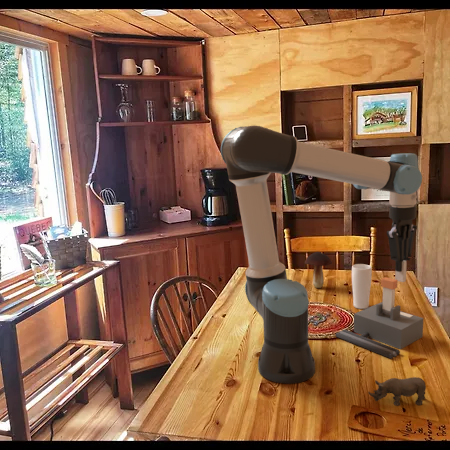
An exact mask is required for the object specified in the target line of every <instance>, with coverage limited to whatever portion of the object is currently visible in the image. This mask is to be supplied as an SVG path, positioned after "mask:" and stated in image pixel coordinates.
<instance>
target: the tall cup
mask: <svg viewBox="0 0 450 450" xmlns="http://www.w3.org/2000/svg"><path fill="white" fill-rule="evenodd" d="M372 274H373V273H372V266H371V265H370V264H369V265H368V264H364V263H355V264H353V265H352V266H351V287H352V300H353V302H352V306H353V307H354V308H356V309H359V310H364V309H366V308H369V307H370V295H371V294H370V293H371V286H372V278H373V277H372Z"/></svg>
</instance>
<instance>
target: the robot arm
mask: <svg viewBox="0 0 450 450" xmlns="http://www.w3.org/2000/svg"><path fill="white" fill-rule="evenodd" d="M220 145H221V146H220V155H221V158H222V160H223V162H224V164H225V165H226V170H227V175H228V180H229V182H231V183H233V184H234V185H235V190H236V194H237V201H238V208H239V214H240V218H241V224H242V230H243V236H244V241H245V247H246V253H247V259H248V265H249V266H248V267H247V268H246V270H245V278H246V279H245V280H246V282H245V287H244V290H245V291H244V292H245V296H246V298H247V299H246V300H247V301H248V303H249V304H250V305H251V306H252V307H253V308H254V309H255V310H256V312H257V313H258V314H259V315H260V317H261V318H262V320H263V344H262V346H261V351H260V355H259V357H258V361H257V369H258V372H259V374H260V375H261V376H262V377H264V378H265V379H266V380H268V381H271V382H274V383H279V384H289V385H290V384H298V383H299V384H300V383H302V382H305V381H307V380H309V379H311V378H312V377H313V376H314V375H315V373H316V361H315V358H314V356H313V353H312V349H311V346H310V344H309V303H310V302H309V301H310V300H309V296H308V291H307V287H305V285H303V284H302V283H301V282H299V281H296V280H292V279H290V278H288V277H287V271H286V266H285V264H283V263H282V262H281V261H280V260H279V252H278V246H277V239H276V233H275V229H274V220H273V214H272V208H271V202H270V196H269V190H268V189H269V188H268V184H267V183H268V182H267V180H268V178H269V176H270V175H271V174H273V173H274V174H280V175H284V176H285V175H289V174H290V173H295V174H300V175H306V176H310V177H311V176H312V177H314V178H315V177H316V178H321V179H324V180H326V179H327V180H331V181H337V182H341V183H346V184H349V185H350V184H351V185H353V187H354V188H356V189H357V190H367V189H368V190H369V189H371V190H379V191H384V192H389V205H390V206H389V211H388V212H389V213H388V218H390V219H391V220H392V223H391V229H390V230H387V231H386V236H387V239H388V246H389V253H390V260H393V261H395V267H394V269H395V270H394V271H395V273H394V274H395V278H394V279H395V280H397V282H400V283H405V282H406V281H407V261H411V257H412V254H413V253H412V252H413V247H414V242H415V237H416V236H415V234H416V231H417V227H418V226H417V225H414V224H413V220H415V219H416V218H417V207H416V205H417V198H418V195H417V191H418V190H419V189H420V188H421V185H422V180H423V175H422V172H421V170H420V169H419V160H418V155H417V154H416V153H413V152H412V153H411V152H408V153H405V152H404V153H391V155H390V159H389V160H388V161H386V160H382V159H377V158H373V157H369V156H364V155H362V154H361V155H360V154H356V153H351V152H347V151H342V150H338V149H335V148H328V147H325V146H320V145H315V144H311V143H306V142H302V141H298V139H297V137H296V136H294V135H291V134H290V135H289V134H285V133H283V132H279V131H275V130H273V129H270V128H267V127H264V126H260V125H247V126H238V127H235V128H234V129H233V128H232V130H230V131H229V132H228V133H227V134H226V135H225V136H224V138H222V141H221V144H220Z"/></svg>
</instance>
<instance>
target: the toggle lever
mask: <svg viewBox="0 0 450 450" xmlns="http://www.w3.org/2000/svg"><path fill="white" fill-rule="evenodd" d="M380 287H382V302H383V306H382V313H384V314H387V315H390V312H391V308H393V307H395V300H396V299H395V296H396V295H395V294H396V293H395V292H396V289H397V288H398V281H397V280H395V278H390V277H386V276H385V277H382V278H381V279H380Z"/></svg>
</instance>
